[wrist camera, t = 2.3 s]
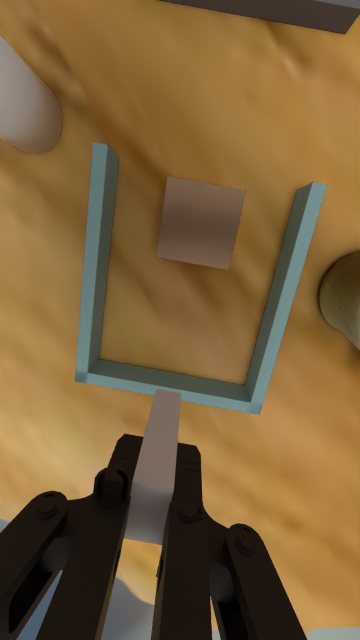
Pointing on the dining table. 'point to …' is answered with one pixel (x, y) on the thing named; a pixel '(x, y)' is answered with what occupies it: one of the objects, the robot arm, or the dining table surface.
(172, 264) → the dining table surface
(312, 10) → the bar
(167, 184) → the walnut block
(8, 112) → the white rounded capsule
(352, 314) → the mug
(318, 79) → the dining table surface
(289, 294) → the teal u-shaped frame
